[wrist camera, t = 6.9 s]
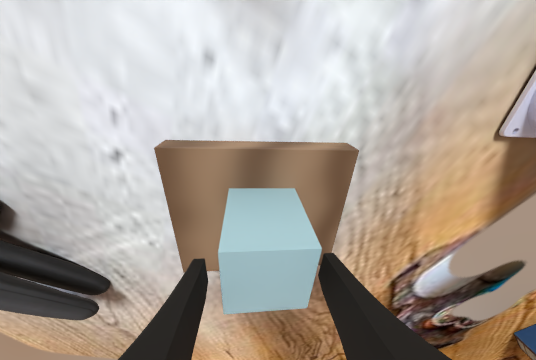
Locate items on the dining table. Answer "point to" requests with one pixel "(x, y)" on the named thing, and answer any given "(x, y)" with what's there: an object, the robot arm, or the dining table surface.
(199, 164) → the walnut block
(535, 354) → the protein box
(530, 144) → the dining table surface
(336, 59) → the dining table surface
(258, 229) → the blue block
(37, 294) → the can opener
